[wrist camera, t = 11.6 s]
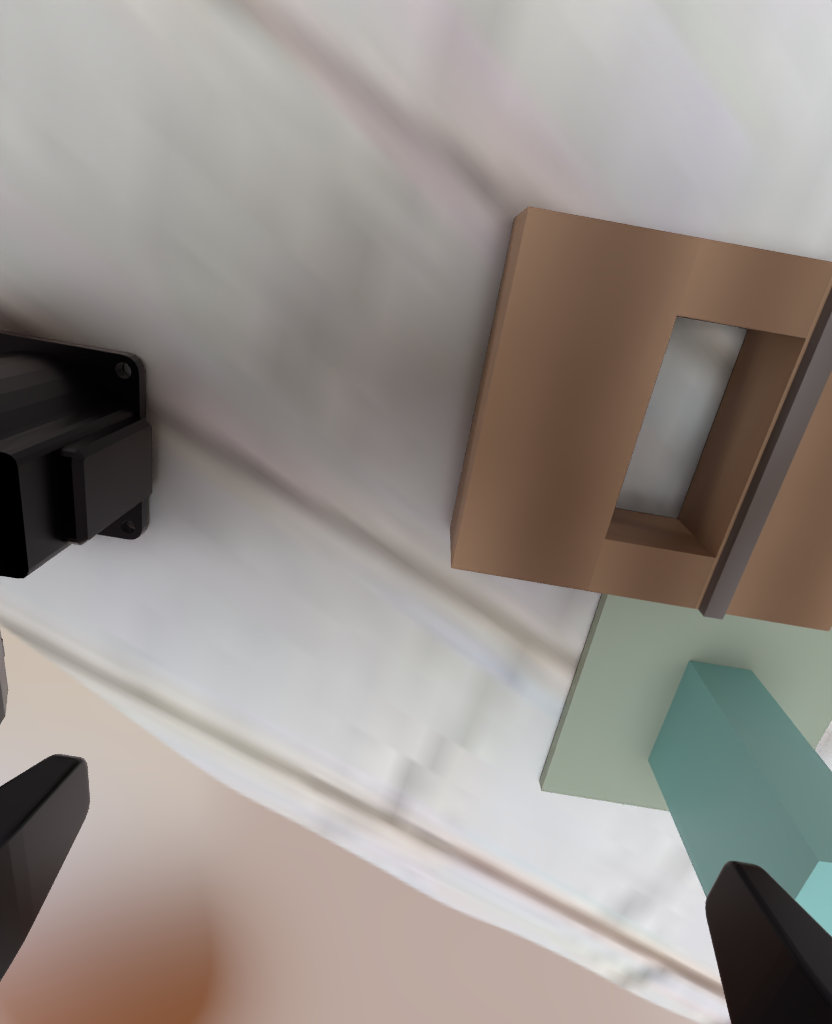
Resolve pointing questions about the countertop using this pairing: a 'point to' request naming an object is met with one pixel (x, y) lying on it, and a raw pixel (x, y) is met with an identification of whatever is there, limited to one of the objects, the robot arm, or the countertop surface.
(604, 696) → the mat
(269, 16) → the countertop surface
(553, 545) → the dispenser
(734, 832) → the tall teal box
